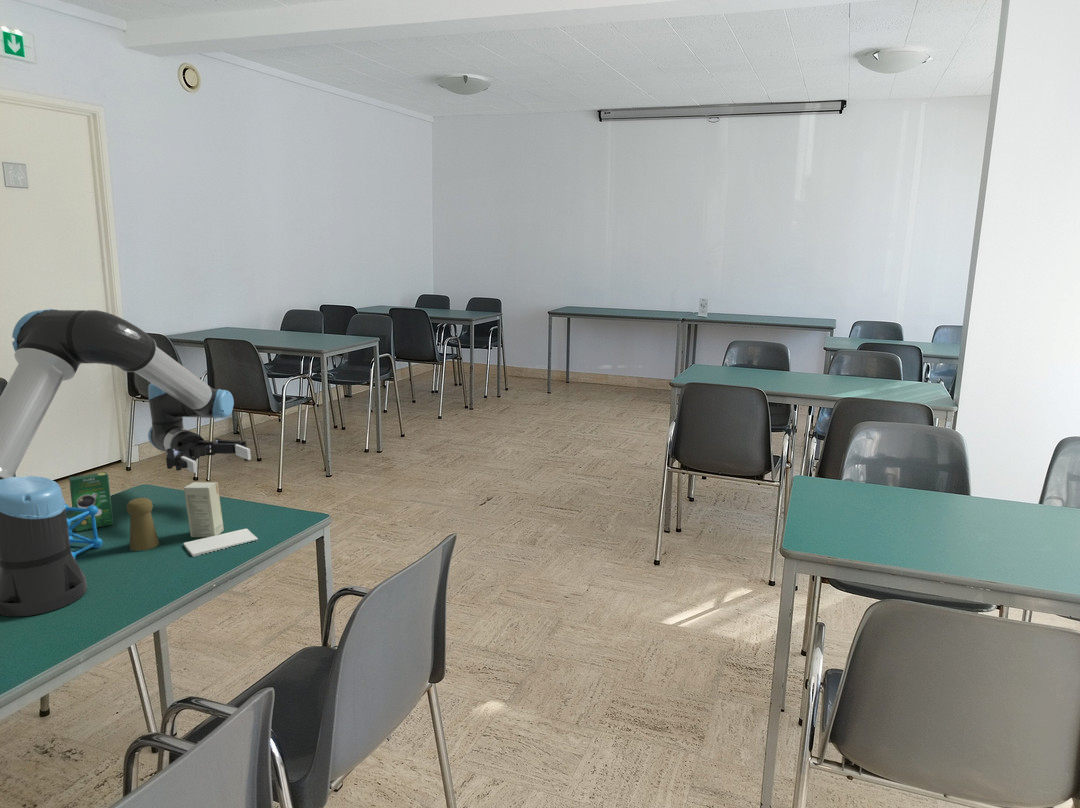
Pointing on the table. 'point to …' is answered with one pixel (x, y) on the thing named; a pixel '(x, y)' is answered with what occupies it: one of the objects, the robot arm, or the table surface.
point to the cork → (141, 525)
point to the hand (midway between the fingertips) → (222, 460)
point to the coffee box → (91, 499)
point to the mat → (219, 542)
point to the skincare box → (203, 509)
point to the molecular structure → (89, 511)
